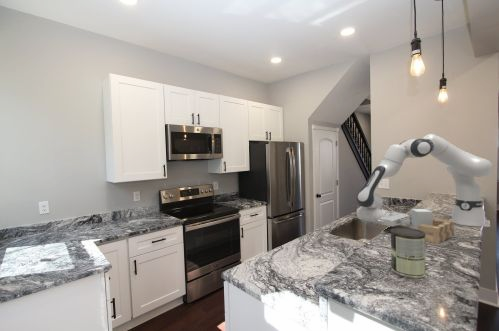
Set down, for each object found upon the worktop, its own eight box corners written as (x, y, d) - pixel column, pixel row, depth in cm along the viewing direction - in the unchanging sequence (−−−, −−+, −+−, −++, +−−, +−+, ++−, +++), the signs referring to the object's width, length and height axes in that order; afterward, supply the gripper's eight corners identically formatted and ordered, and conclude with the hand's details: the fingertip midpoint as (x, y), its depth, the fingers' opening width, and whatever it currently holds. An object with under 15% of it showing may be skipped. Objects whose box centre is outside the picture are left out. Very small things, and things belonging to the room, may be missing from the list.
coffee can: (384, 267, 91) (383, 228, 91) (407, 264, 94) (406, 226, 94) (409, 280, 81) (408, 236, 81) (433, 275, 84) (433, 233, 84)
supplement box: (433, 237, 125) (433, 211, 125) (416, 236, 127) (416, 211, 127) (426, 232, 132) (426, 208, 132) (410, 232, 134) (410, 208, 134)
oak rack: (435, 231, 134) (434, 218, 134) (453, 235, 127) (453, 221, 127) (418, 239, 122) (418, 225, 121) (438, 243, 115) (438, 228, 115)
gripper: (375, 215, 139) (402, 219, 128) (393, 210, 151) (419, 213, 139) (375, 226, 139) (402, 231, 128) (393, 220, 151) (419, 225, 140)
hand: (411, 222), depth 134 cm, fingers closed, pressing on supplement box
